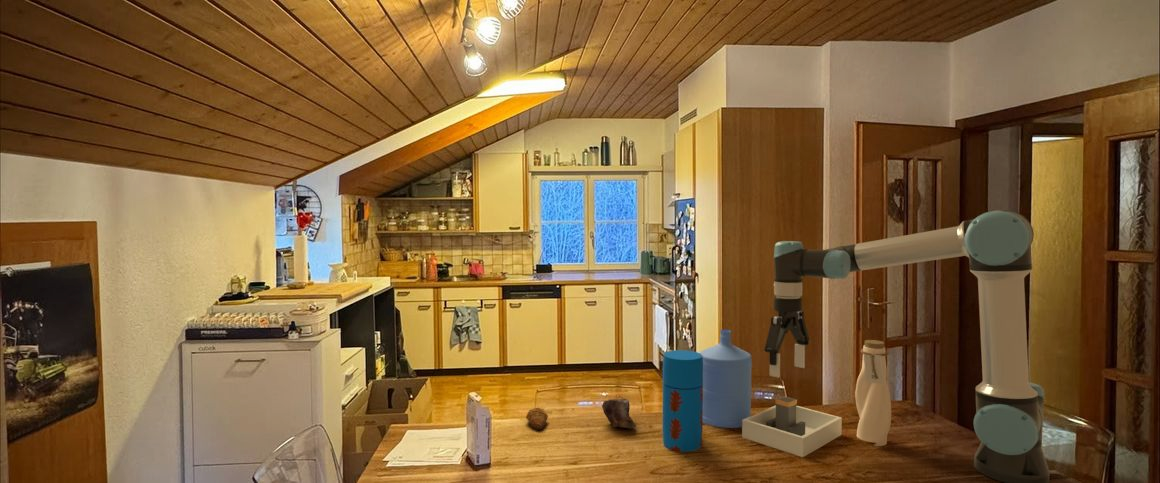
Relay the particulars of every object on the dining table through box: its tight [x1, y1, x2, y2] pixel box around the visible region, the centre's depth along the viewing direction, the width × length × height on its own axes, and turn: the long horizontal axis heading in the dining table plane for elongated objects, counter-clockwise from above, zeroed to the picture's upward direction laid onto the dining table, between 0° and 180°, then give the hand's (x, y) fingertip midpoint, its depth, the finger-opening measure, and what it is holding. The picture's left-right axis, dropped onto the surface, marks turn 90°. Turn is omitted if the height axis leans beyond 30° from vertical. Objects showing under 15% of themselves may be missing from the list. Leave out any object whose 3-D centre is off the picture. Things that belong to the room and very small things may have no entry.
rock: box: [601, 398, 637, 430], centre depth 182 cm, size 12×9×10 cm
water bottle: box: [854, 339, 892, 447], centre depth 168 cm, size 10×9×28 cm
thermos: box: [662, 349, 703, 453], centre depth 167 cm, size 11×11×25 cm
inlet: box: [766, 417, 805, 436], centre depth 172 cm, size 8×8×4 cm
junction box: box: [741, 404, 843, 458], centre depth 171 cm, size 18×22×6 cm
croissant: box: [525, 407, 549, 431], centre depth 184 cm, size 14×7×5 cm, turn 9°
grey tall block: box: [774, 395, 798, 432], centre depth 172 cm, size 4×4×10 cm
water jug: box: [699, 329, 753, 429], centre depth 184 cm, size 16×16×28 cm
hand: (787, 371), depth 171 cm, fingers open, 13 cm apart
